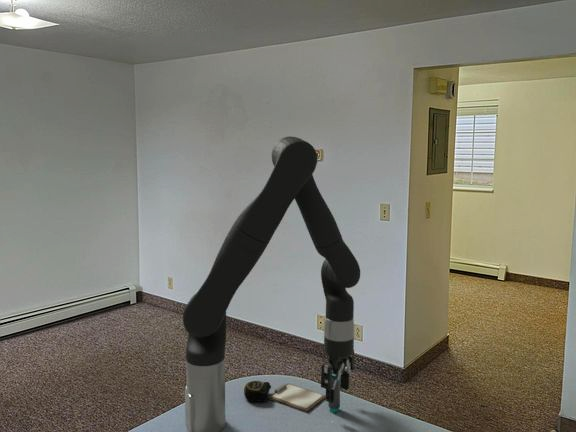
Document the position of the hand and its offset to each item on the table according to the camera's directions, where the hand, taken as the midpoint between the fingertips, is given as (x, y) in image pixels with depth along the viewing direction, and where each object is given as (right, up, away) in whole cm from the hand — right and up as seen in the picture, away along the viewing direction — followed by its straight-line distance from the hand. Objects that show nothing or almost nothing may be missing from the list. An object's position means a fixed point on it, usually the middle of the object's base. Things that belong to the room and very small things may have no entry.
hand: (337, 394), depth 128 cm
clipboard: (-10, -4, +7) cm, 13 cm away
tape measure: (-21, -4, +8) cm, 22 cm away
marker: (-1, -4, +1) cm, 5 cm away
